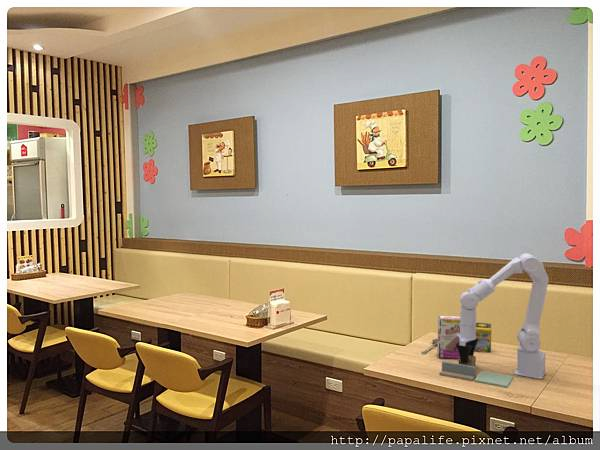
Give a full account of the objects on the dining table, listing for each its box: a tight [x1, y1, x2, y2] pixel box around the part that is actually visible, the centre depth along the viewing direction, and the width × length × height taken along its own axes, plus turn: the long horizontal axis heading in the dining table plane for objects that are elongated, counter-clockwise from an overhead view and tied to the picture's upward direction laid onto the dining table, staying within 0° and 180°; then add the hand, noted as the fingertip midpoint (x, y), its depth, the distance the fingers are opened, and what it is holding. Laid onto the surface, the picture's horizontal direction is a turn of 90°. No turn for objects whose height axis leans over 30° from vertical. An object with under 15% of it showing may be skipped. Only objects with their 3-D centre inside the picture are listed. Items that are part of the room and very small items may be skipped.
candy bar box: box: [436, 315, 460, 360], centre depth 216 cm, size 11×5×16 cm, turn 84°
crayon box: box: [474, 322, 492, 353], centre depth 225 cm, size 7×3×12 cm, turn 72°
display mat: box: [473, 370, 514, 388], centre depth 192 cm, size 11×11×1 cm
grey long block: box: [438, 360, 477, 382], centre depth 195 cm, size 12×4×4 cm, turn 58°
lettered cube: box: [458, 355, 477, 368], centre depth 202 cm, size 5×5×5 cm
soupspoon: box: [420, 338, 438, 355], centre depth 230 cm, size 22×3×7 cm
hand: (466, 359), depth 202 cm, fingers open, 7 cm apart
